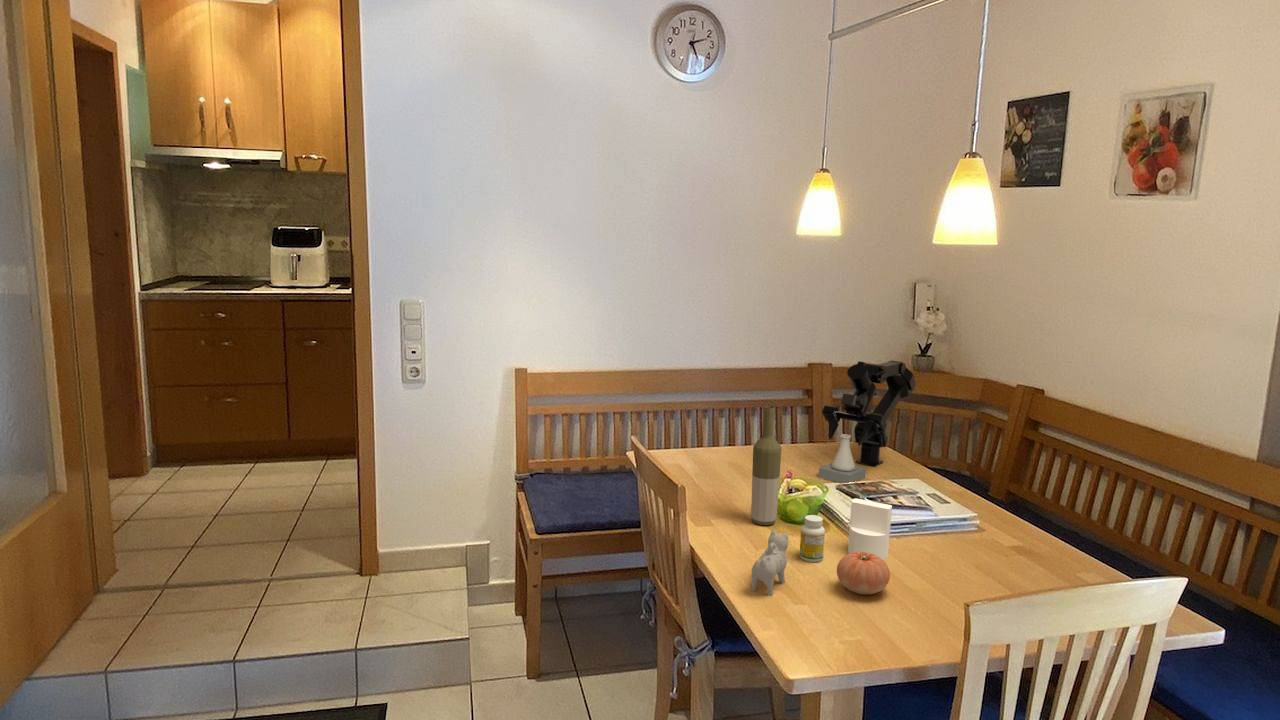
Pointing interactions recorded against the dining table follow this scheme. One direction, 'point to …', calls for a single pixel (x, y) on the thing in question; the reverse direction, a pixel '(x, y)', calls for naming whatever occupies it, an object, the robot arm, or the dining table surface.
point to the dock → (842, 474)
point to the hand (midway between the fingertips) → (843, 441)
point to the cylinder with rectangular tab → (869, 527)
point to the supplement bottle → (812, 539)
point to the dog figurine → (771, 562)
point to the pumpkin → (863, 572)
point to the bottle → (766, 473)
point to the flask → (844, 455)
